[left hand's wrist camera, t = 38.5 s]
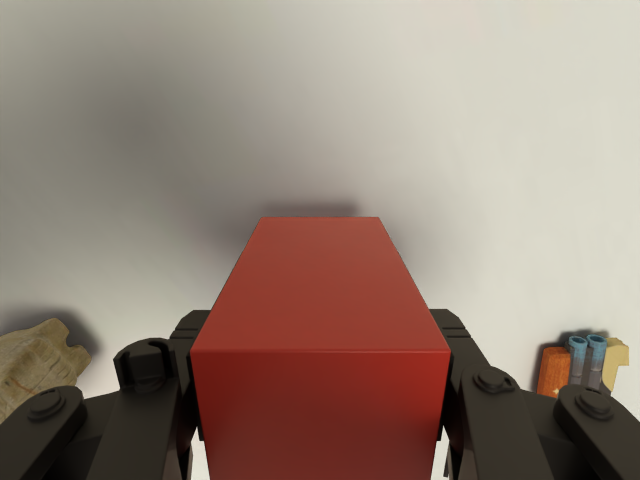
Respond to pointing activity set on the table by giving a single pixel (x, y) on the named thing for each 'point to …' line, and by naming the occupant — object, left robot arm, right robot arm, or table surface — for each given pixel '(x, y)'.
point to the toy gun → (582, 364)
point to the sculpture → (37, 363)
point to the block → (320, 359)
